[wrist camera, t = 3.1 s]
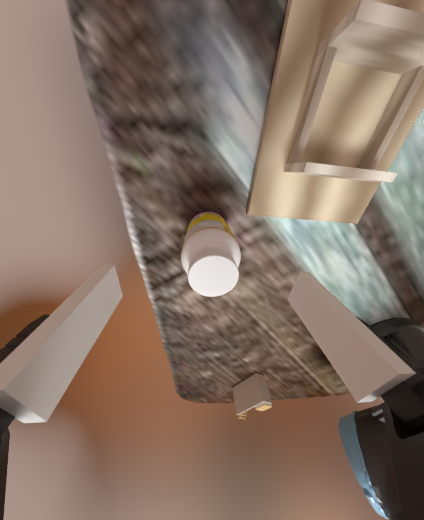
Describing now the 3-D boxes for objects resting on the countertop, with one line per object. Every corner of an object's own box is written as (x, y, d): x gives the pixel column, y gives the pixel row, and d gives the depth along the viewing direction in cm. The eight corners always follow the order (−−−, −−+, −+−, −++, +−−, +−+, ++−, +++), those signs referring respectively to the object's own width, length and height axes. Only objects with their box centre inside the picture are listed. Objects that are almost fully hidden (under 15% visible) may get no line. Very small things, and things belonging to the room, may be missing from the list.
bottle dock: (481, -16, 13) (626, -113, 8) (351, 221, 23) (386, 233, 18) (301, -66, 11) (365, -217, 7) (246, 212, 21) (257, 223, 17)
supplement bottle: (225, 250, 24) (242, 305, 14) (187, 248, 23) (177, 304, 13) (230, 211, 21) (256, 247, 11) (187, 208, 20) (174, 243, 10)
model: (263, 373, 46) (273, 408, 39) (239, 388, 50) (245, 421, 43) (255, 371, 45) (265, 406, 38) (232, 386, 49) (237, 419, 42)
